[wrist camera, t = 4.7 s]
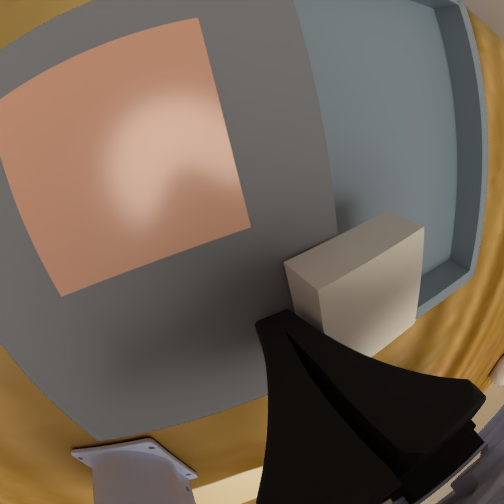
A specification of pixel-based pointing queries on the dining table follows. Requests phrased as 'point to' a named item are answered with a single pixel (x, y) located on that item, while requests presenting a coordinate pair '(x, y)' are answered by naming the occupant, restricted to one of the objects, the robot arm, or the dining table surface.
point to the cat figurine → (498, 373)
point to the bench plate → (186, 262)
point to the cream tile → (361, 282)
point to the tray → (404, 124)
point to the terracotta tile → (121, 156)
